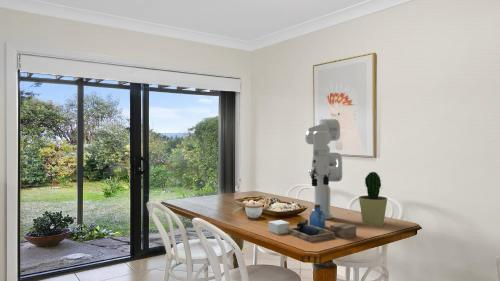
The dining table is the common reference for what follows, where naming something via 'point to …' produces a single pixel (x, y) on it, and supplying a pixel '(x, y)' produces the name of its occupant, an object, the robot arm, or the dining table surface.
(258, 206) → the filled white bowl
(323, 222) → the perfume bottle
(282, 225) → the grey block
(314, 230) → the navy pump bottle
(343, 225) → the walnut block
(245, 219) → the dining table surface
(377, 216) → the potted cactus
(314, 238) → the wooden tray
